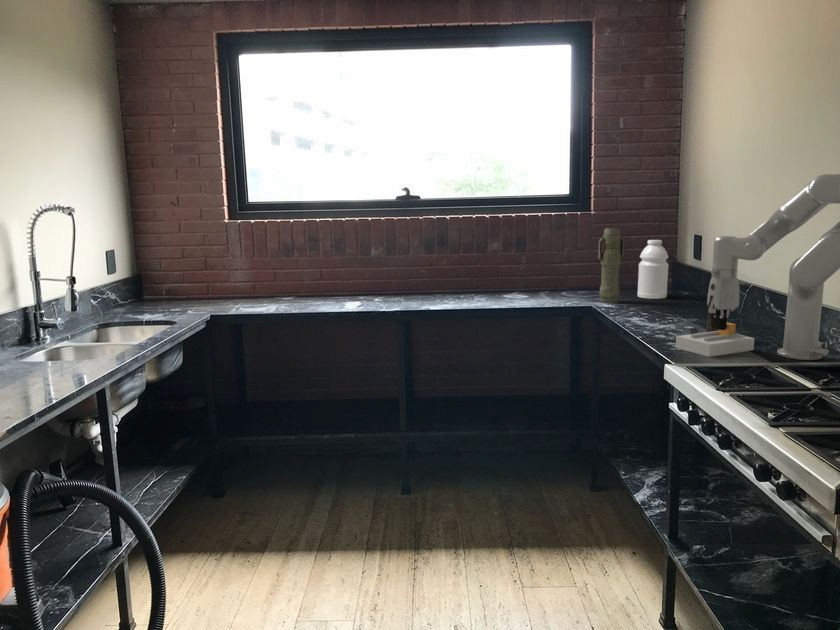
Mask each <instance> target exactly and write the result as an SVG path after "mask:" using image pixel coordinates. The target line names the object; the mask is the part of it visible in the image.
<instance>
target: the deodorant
mask: <svg viewBox="0 0 840 630" xmlns="http://www.w3.org/2000/svg"><path fill="white" fill-rule="evenodd" d="M719 312H720V311H719ZM715 321H716V317H715V316H714V314H713V313H710V312H709V307H708V306H707V324H706V332H712V331H719V329H715Z"/></svg>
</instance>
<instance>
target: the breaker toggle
mask: <svg viewBox="0 0 840 630" xmlns="http://www.w3.org/2000/svg"><path fill="white" fill-rule="evenodd" d="M736 326H737V324H736V323H732V322H728V321H727V327H726V330H719V335H728V334H736V329H737V327H736Z"/></svg>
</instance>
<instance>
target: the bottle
mask: <svg viewBox="0 0 840 630" xmlns="http://www.w3.org/2000/svg"><path fill="white" fill-rule="evenodd" d="M662 244H663V241H662V240H661V239H648V240H647V245H646V246H645V247H644V248H643V250H642V251H641V253H640V255H639V258H640V259H641V261H640V262H639V263H638V272H637V273H638V276H637V277H638V278H637V293H636V295H637V297H638V298H641V299H651V300H652V299H655V300H656V299H657V300H658V299H666V298H667V297H668V296H667V295H668V281H669V280H668V278H669V277H668V276H669V263H668V262H667V260H668V258H669V255H668V251H667V250H666V249H665V247H664V246H662Z"/></svg>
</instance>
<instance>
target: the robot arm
mask: <svg viewBox="0 0 840 630" xmlns="http://www.w3.org/2000/svg"><path fill="white" fill-rule="evenodd" d="M830 204H840V173H832V174H831V173H826V174H825V173H824V174H820V175H817V176H816V177H814V178H813V179H812V180H811V181H810V182H808V184H806V185H804V186H803V187H802V188H801V189H800V190H799V191H798V192H797V193H796V194H794V195H793V196H792V197H791V198H789V199H788V200H787V201H786V202H784V203H783V204H782V205H781V206H779V207H778V208H777V209H776V210H775V211H774V213H773V214H772V215H771V216H770V217H769V218H768V219H767V220H766V221H764V222H763V223H762V224H761V225H760V226H758V227H757V228H756V229H755V230H754V231H752V232H751V233H750V234H748V235H747V236H746V237H737V236H730V235H726V236H725V235H724V236H723V235H721V236H717V237H715V238H714V241H713V248H712V249H713V251H712V265H711V266H712V268H711V278H710V281H709V286H708V292H707V301H706V303H707V308H708V307H709V312H710V313H713V314H714V316H715V317H716V321H715V329H719V330H726V327H727V322H728V318H729V317H730V316H729V315H730V313H731V312H734V311H735V310H736V308H737V309H738V308H739V306H740V281H739V278H738V268H739V267H738V265H739V260H744V261H756V260H758V259H760V258H762V256H763V255H764V254H765V253H766V252H767V251H768V250H770V249H771V248H772V247H773V246H775V245H776V244H777V243H778V242H780V241H781V240H782V239H783V238H785V237H786V236H788V235H789V234H791V233H793V232H794V231H796V230H798V229H799V228H800V227H802V226H803V225H804V224H806V223H807V222H809V220H811V219H813V217H815V216H816V215H817V214H818V213H819V212H820V211H821V212H822V211H823V209H825V208H826V207H827V206H828V205H830ZM791 263H792V264H791V265H790V268H789V271H788V272H789V273H788V274H789V275H788V290H787V291H788V292H787V300H786V301H787V302H786V311H785V312H786V313H785V322H784V333H783V334H784V335H783V345H782V347H781V348H778V349H777V352H776V353H777V355H779V356H780V357H784V358H788V359H793V360H800V361H801V360H802V361H815V360H821V359H823V357H827V356H828V354H829V352H830V351H829V349H827V348H823V347H822V343H820V342H819V338H820V328H821V327H820V326H821V316H822V306H823V298H824V287H825V282H826V281H827V280H828V279H830V278H831V277H832V276H833V275H834V274H835V273H836V272H837V271H839V270H840V220H839V221H838V222H837V223H836V224H835V225H833V227H831V228H830V229H829V230H827V231H826V232H825V233H823V234H822V235H821V237H820V238H819V240H818V241H817V242H816V243H815V244H814V245H813V246H811V248H810V249H809V250H808V251H807V252H806V253H805V254H803V256H799V257H797V258H796V259H795V260H794V261H793V262H791ZM719 311H720V312H719Z"/></svg>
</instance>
